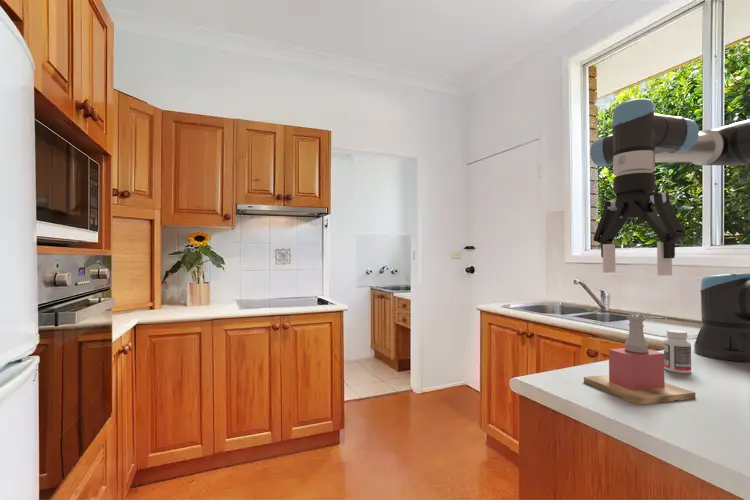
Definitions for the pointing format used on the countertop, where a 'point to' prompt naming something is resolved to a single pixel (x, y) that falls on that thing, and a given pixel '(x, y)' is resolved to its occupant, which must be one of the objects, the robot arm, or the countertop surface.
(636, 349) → the rook chess piece
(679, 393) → the base plate
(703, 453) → the countertop surface
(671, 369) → the pill bottle
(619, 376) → the brick
